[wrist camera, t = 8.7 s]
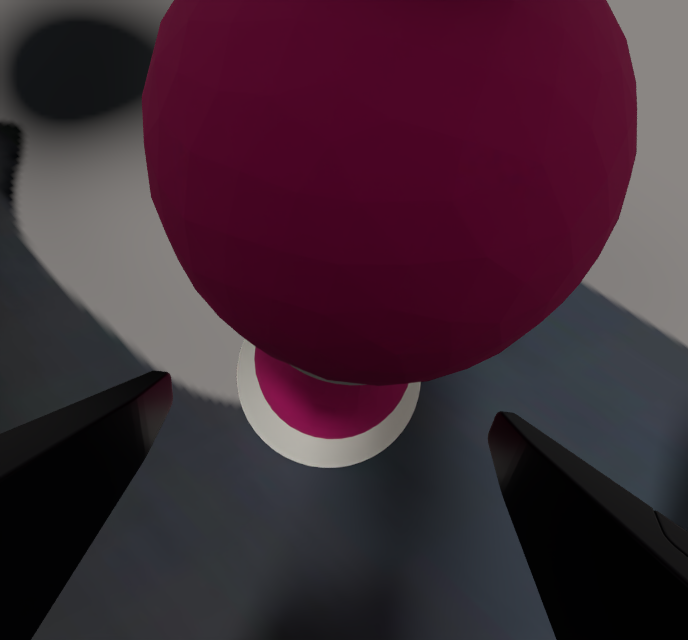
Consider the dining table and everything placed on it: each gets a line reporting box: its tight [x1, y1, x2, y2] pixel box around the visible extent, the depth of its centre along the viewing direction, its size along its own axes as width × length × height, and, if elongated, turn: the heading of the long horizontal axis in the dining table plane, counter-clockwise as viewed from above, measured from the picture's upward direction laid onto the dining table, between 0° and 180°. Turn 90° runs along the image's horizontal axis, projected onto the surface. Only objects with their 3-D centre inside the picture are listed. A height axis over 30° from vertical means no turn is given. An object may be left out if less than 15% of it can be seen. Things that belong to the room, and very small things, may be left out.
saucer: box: [237, 339, 421, 468], centre depth 20 cm, size 11×11×1 cm
